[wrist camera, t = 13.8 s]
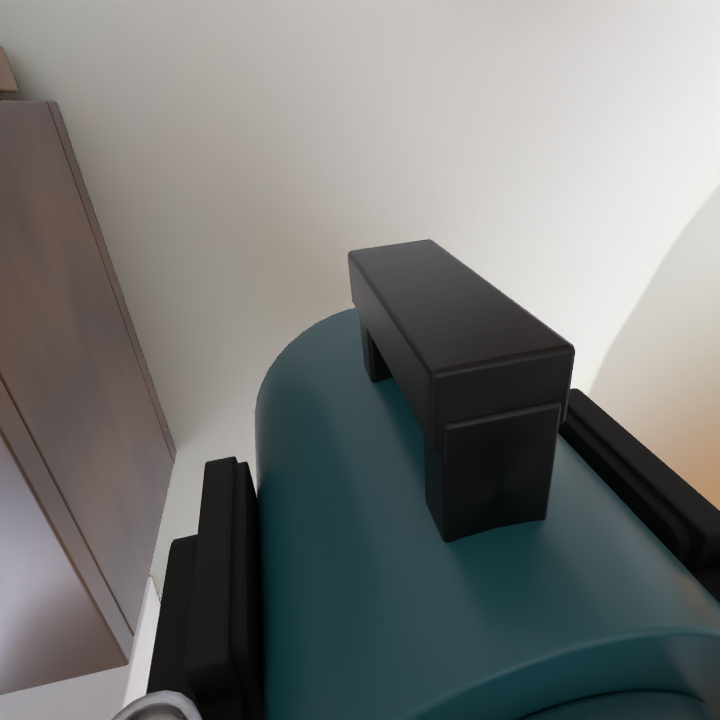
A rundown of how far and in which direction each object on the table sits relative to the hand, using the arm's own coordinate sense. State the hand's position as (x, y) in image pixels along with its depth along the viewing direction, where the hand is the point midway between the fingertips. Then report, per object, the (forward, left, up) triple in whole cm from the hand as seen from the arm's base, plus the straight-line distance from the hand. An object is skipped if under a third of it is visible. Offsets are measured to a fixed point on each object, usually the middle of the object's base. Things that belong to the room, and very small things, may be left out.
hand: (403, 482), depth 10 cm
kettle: (0, 0, -3) cm, 3 cm away
